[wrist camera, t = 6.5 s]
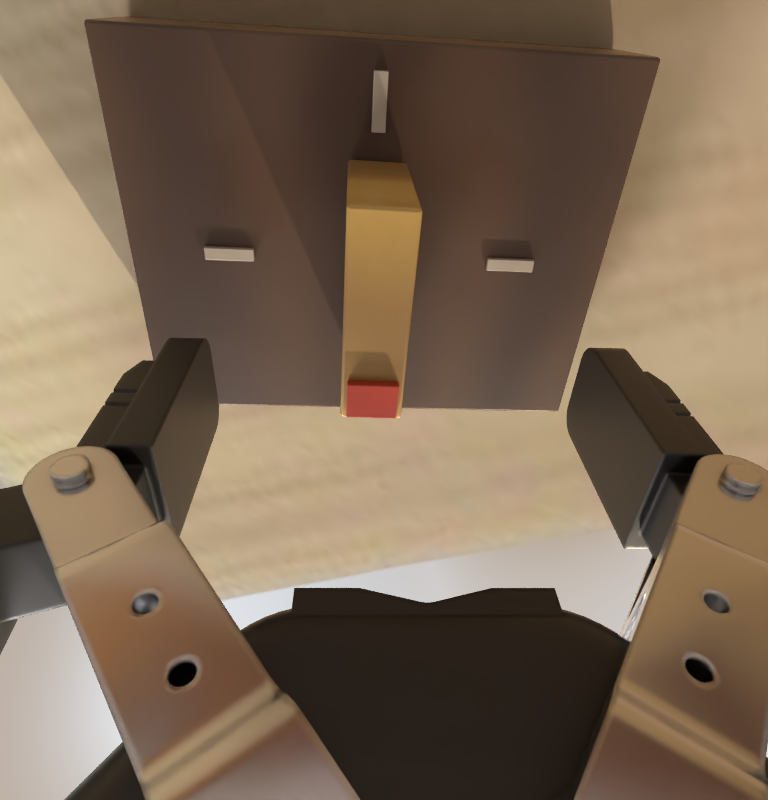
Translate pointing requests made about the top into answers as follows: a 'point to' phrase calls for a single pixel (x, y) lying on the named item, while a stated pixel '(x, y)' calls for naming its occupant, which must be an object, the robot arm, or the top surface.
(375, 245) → the red-tipped tan block
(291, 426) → the top surface
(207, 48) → the lock plate
